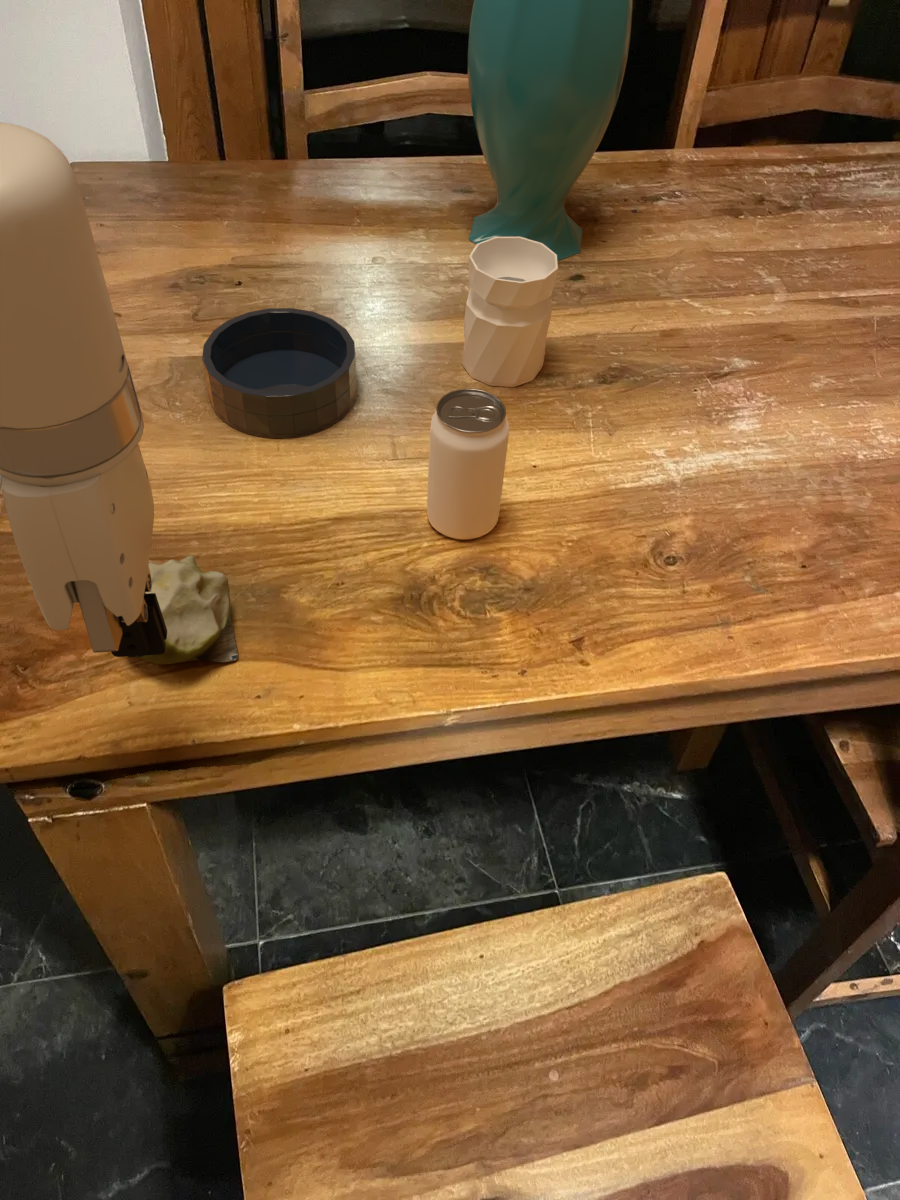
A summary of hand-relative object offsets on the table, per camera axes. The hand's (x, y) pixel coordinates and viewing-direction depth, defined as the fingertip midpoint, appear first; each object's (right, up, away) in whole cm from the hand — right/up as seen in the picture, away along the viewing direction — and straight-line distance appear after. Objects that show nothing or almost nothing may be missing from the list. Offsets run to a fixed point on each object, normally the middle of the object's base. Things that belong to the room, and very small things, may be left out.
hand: (141, 645), depth 58 cm
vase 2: (+25, +28, +41) cm, 56 cm away
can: (+20, +10, +26) cm, 34 cm away
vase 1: (+29, +49, +59) cm, 82 cm away
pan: (+2, +24, +36) cm, 43 cm away
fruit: (-2, 0, +15) cm, 15 cm away
